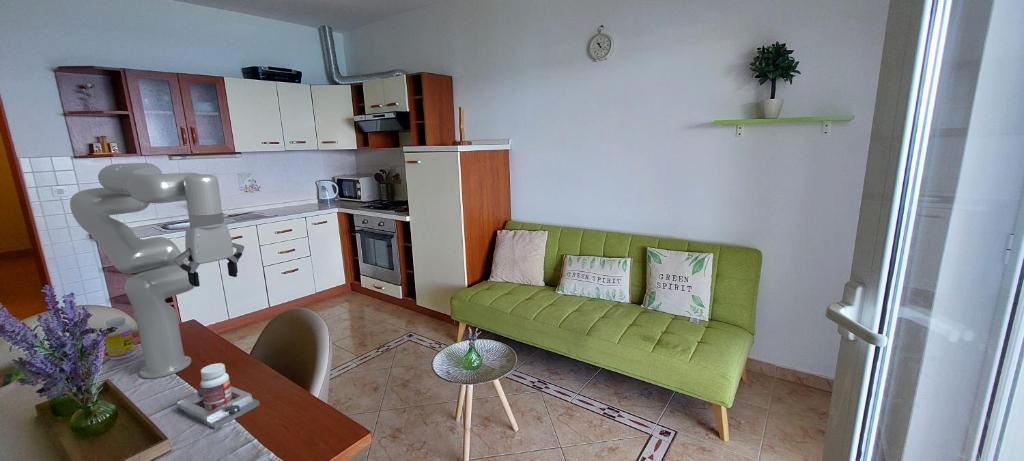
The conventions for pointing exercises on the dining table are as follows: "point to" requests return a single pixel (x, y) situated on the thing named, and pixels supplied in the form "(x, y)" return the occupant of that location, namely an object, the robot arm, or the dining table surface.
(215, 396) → the pill bottle
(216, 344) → the dining table surface
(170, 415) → the dining table surface
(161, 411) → the dining table surface
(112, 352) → the supplement bottle
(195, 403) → the slotted white bracket
